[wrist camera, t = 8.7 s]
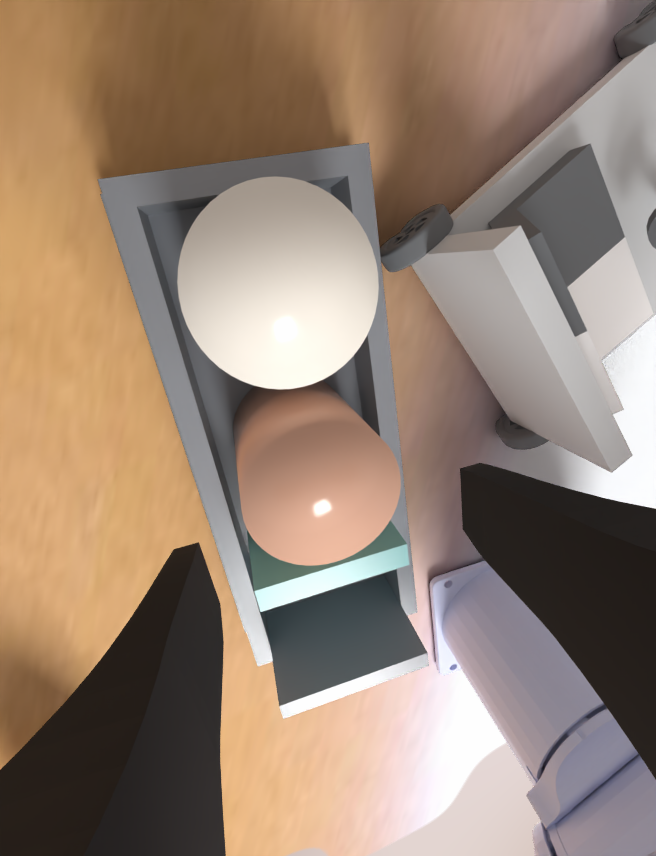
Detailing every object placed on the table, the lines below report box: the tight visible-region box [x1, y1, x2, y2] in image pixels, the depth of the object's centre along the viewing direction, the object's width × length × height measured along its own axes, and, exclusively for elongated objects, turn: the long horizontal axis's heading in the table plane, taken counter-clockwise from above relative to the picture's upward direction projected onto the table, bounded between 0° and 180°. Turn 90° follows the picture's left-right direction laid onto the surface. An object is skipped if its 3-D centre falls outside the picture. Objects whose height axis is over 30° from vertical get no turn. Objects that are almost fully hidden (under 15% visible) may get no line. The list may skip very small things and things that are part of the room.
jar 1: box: [177, 176, 379, 389], centre depth 13 cm, size 5×5×6 cm
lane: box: [98, 143, 429, 719], centre depth 16 cm, size 9×20×6 cm, turn 9°
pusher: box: [247, 520, 409, 612], centre depth 17 cm, size 6×1×5 cm, turn 99°
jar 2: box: [233, 380, 401, 566], centre depth 16 cm, size 5×5×6 cm
